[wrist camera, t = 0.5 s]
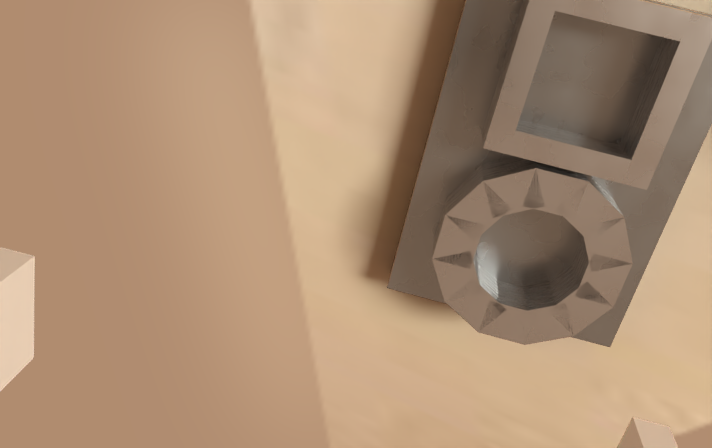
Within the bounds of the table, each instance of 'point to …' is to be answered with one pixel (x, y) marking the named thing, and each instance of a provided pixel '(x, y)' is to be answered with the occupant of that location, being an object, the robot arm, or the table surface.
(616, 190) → the jig
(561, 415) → the table surface
